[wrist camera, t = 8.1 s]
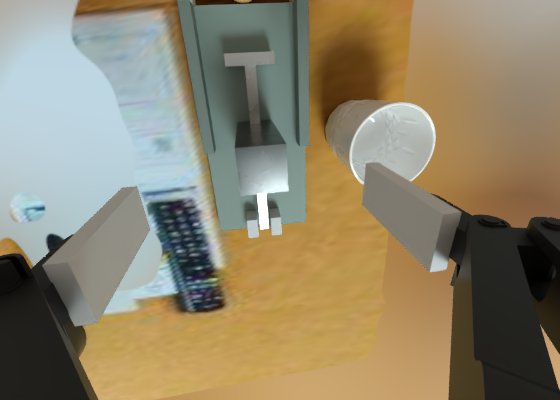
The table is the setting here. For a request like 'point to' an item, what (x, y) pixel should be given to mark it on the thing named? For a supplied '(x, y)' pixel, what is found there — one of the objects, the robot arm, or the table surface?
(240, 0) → the ball
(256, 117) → the grey t-handle tool
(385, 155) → the white cup
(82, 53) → the table surface
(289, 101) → the grey-green piece
